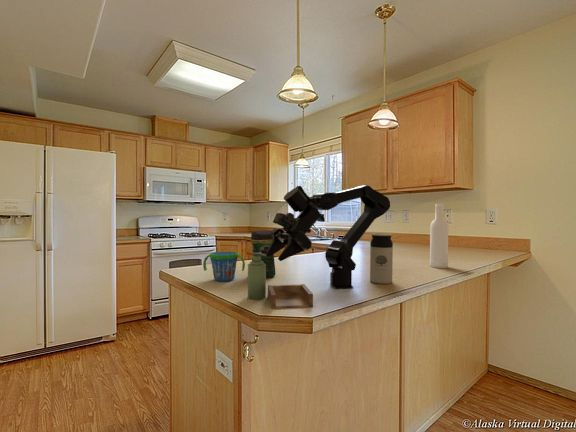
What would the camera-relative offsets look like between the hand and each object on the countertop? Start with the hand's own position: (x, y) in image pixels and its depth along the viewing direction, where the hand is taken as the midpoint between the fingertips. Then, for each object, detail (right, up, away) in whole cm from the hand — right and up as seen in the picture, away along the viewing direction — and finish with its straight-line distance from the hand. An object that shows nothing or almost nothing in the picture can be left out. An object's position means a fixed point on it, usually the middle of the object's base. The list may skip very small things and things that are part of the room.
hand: (272, 257), depth 97 cm
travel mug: (+39, -12, +20) cm, 46 cm away
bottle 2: (+77, -11, +53) cm, 94 cm away
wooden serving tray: (+5, -12, -7) cm, 14 cm away
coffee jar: (-5, -11, +28) cm, 31 cm away
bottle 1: (-5, -12, -2) cm, 13 cm away
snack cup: (-20, -11, +22) cm, 31 cm away
